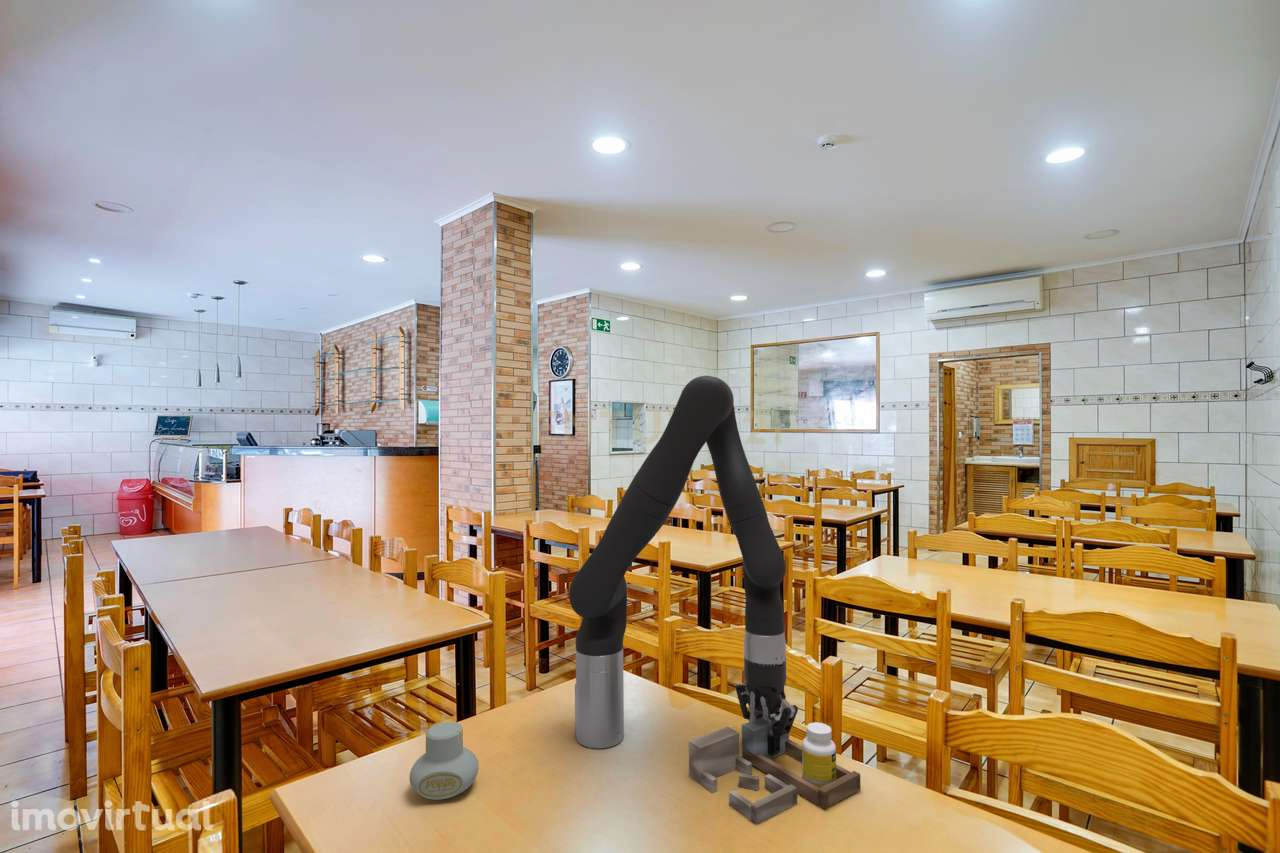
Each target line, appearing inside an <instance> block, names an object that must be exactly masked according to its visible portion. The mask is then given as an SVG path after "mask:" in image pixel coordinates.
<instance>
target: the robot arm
mask: <svg viewBox="0 0 1280 853" xmlns="http://www.w3.org/2000/svg"><path fill="white" fill-rule="evenodd" d="M734 400H735V399H734V393H733V392H732V389H731V387H730V386H729V385H728V383H727V382H725V381H724V380H722V379H721V378H719V377H716V376H712V375H700V376H697V377H694V378H692V380H690V381H689V382H687V384H686V385H685V387H683V389H682V390H681V393H680V396H679V398H678V400H677V402H676V405H675V407H674V409H673V411H672V414H671V416H670V418H669V421H668V423H667V424H666V427H665V429H664V431H663V433H662V435H661V437H660V438H659V440H658V441H657V443H656V444H655V446H654V447H653V448H652V450H651V451H650V453H649V454H648V455H647V456H646V458H645V460H644V461H643V463H642V464H641V466H640V467H639V469H638V470H637V472H636V474H635V475H634V477H632V478H633V479H632V480H631V482H630V484H629V486H628V487H627V489H626V490H625V492H624V494H623V496H622V498H621V500H620V502H619V504H618V505H617V508H616V509H615V511H614V513H613V515H612V516H611V518H610V520H609V522H608V525H607V526H606V528H605V530H604V532H603V534H602V536H601V539H600V540H599V541H598V543H597V545H596V547H595V548H594V549H593V551H592V552H591V553H590V555H589V556H588V558H587V559H586V560H585V562H584V563H583V565H582V566H581V567H580V569H579V570H578V571H577V573H576V574H575V576H573V579H572V580H571V583H570V585H569V591H568V599H569V603H570V604H569V605H570V606H571V609H572V610H573V612H574V613H575V614H577V615H578V616H579V617H581V618H582V620H581V622H580V625H579V628H578V630H577V632H576V635H575V684H574V723H575V724H574V727H575V728H574V731H575V732H574V733H576V734H575V737H576V741H577V743H579V745H582V746H583V747H586V748H589V749H606V748H610V747H611V748H612V747H613V746H616V745H618V744H620V743H621V742H622V741H623V740H624V737H625V711H624V710H625V707H624V706H625V705H624V704H625V703H624V702H625V700H624V695H625V693H624V691H625V690H624V686H625V685H624V683H625V682H624V638H625V634H626V630H627V619H628V616H627V615H628V614H627V612H628V588H627V587H628V586H627V581H626V577H625V575H626V574H627V572H628V570H629V568H630V566H631V565H632V563H633V562H634V560H635V559H636V558H637V556H639V554H640V553H641V552H642V551H643V550H644V549H645V548H646V546H648V544H649V543H650V542H651V541H652V540H653V539H654V537H655V535H657V533H658V532H659V531H660V530H661V528H662V527H663V525H664V524H665V523H666V521H667V520H668V518H669V516H670V514H671V513H672V511H673V509H674V508H675V506H676V504H677V503H678V500H679V498H680V496H681V494H682V493H683V491H684V488H685V485H686V483H687V481H688V478H689V475H690V473H691V470H692V468H693V464H694V462H695V460H696V458H697V456H698V455H699V453H700V452H701V450H702V449H703V447H704V446H705V444H706V445H707V448H708V451H709V454H710V458H711V461H712V465H713V469H714V474H715V478H716V484H717V486H718V488H717V489H718V491H719V495H720V499H721V503H722V506H723V510H724V511H725V514H726V517H727V520H728V523H729V526H730V528H731V531H732V532H733V534H734V536H735V538H736V540H737V544H738V546H739V550H740V553H741V556H742V573H743V574H742V575H743V586H744V595H745V596H744V597H745V604H744V605H745V606H744V607H745V608H744V626H745V627H744V637H743V638H744V639H743V673H744V674H743V676H744V678H743V679H744V680H745V682H742V683H739V684H737V685H735V687H734V688H735V691H736V692H735V693H736V695H737V699H738V702H739V703H738V704H739V707H740V709H741V714H742V717H743V719H745V720H748V722H750V721H753V720H756V719H758V718H761V717H764V721H765V722H767V729H768V735H767V740H768V755H770V756H774V755H777V754H778V753H779V752H780V736H782V735H784V734H787V733H789V734H790V732H791V730H792V728H793V724H794V721H795V719H796V717H797V714H798V711H799V708H798V706H797V705H796V704H793V705H792V704H790V703H789V702H788V701H787V699H786V693H785V690H784V688H785V684H786V682H787V641H786V635H785V609H784V603H783V600H782V596H781V583H782V581H783V580H784V578H785V576H786V572H787V567H786V560H785V558H784V555H783V554H784V553H783V552H782V550H781V547H780V545H779V543H778V541H777V537H776V536H775V534H774V531H773V530H772V528H771V524H770V521H769V517H768V514H767V510H766V507H765V505H764V501H763V498H762V496H761V493H760V489H759V488H758V485H757V482H756V479H755V477H754V475H753V471H752V468H751V466H750V464H749V462H748V458H747V456H746V453H745V449H744V447H743V444H742V440H741V436H740V432H739V428H738V424H737V418H736V417H737V416H736V411H735V410H736V409H735V404H734ZM747 705H748V707H747ZM748 709H749V710H748ZM770 714H773V715H770ZM774 721H775V727H774V724H773V723H774Z"/></svg>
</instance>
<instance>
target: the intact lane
mask: <svg viewBox="0 0 1280 853" xmlns="http://www.w3.org/2000/svg"><path fill="white" fill-rule="evenodd" d="M770 715H773V714H770ZM773 724H774V727H775V721H774V723H773ZM767 735H768V729H767V722H765V721H764V717H761V718H758V719H756V720H753V721H747V722H746V723H742V724H741V757H742V758H744V759H746V760H747V761H749V762H751V763H752V766H754V767H755V768H757V769H759V770H760V771H762V772H764V773H765V774H766V775H768V774H770V775H772V776H773V777H775V778H777V779H778V780H780V781H782V782H783V783H785V784H787V785H788V786H789V785H791V784H792V785H793V786H795V787H797V794H799V795H802V796H803V797H805V799H808V800H809V801H810V802H813V803H814V804H816V805H817V806H819V807H820V808H823V809H827V808H829V807H831V806H833V805H834V804H836V803H838V802H841V800H844V799H845V798H847V797H849V796H851V795H853V794H855V793H856V792H859V791H860V790H861V773H860V772H857V771H855V770H853V771H849V770H848V769H846V768H844V767H842V766H840V765H838V764H837V763H836V780H835V781H833V782H831V783H829V784H827V785H825V786H823V787H821V788H818V787H816V786H814V785H813V784H811V783H809V782H808V781H806V780H804V779H802V776H799V775H797V774H795V773H794V772H792V771H790V770H788V769H787V768H785V767H783V766H782V765H780V764H778V763H777V762H775V761H773V760H772V759H774V758H775V757H777V756H779V755H782V754H785V753H787V754H788V755H790V756H792V757H794V758H796V759H797V760H799V761H801V762H802V745H800V744H798V743H797V742H795V741H793V740H791V739H790V732H789V733H787V734H784V735H782V736H780V752H779V753H778V754H777V755H774V756H770V755H768V740H767Z"/></svg>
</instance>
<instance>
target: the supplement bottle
mask: <svg viewBox="0 0 1280 853" xmlns="http://www.w3.org/2000/svg"><path fill="white" fill-rule="evenodd" d="M832 736H833V735H832V727H831V726H829V725H828V724H825V723H823V722H810V723H808V724H807V725H806V737H804V738H803V740H802V743H801V744H802V745H801V746H802V761H801V763H802V764H801V766H802V768H801V770H802V771H801V772H802V776H801V778H802V779H804V780H806V781H808V782H809V783H811V784H813V785H814V786H816V787H818V788H821V787H823V786H825V785H827V784H829V783H831V782H833V781H835V780H836V764H837V747H836V746H837V745H836V744H835V742H834V741H833V740H832Z"/></svg>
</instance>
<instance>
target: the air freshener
mask: <svg viewBox="0 0 1280 853" xmlns="http://www.w3.org/2000/svg"><path fill="white" fill-rule="evenodd" d="M463 728H464V727H463V726H462V725H461V724H460V723H458V722H457V721H456V722H455V721H444V722H443V721H442V722H439V723H436V724H434V725H432V726H430V727H429V728H428V729H427V731H426V732H425V753H423V754H422V755H421V756H420V757H419V758H418V759H416V761H415V762H414V763H413V765H412V767H411V769H410V772H409V783H410V784H409V785H410V787H411V788H412V790H413V791H414V793H416V794H417V795H419V796H420V797H422V798H425V799H428V800H435V801H443V800H442V799H446V800H447V799H452V798H453V797H455V796H458V795H460V794H462V793H463V792H465V790H467V789H468V788H470V786H471V785H472V784H473V783H474V781H475V780H476V778H477V776H478V772H479V769H480V766H479V759H478V758H477V756H476V754H475V753H473V751H471V750H470V749H469V748H466V747H464V736H463V735H464V732H463Z"/></svg>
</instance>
